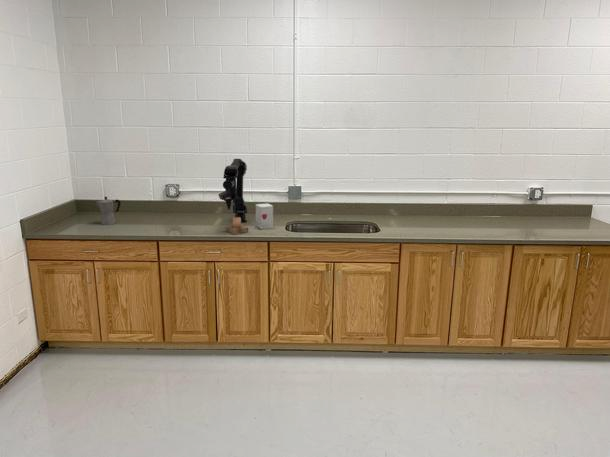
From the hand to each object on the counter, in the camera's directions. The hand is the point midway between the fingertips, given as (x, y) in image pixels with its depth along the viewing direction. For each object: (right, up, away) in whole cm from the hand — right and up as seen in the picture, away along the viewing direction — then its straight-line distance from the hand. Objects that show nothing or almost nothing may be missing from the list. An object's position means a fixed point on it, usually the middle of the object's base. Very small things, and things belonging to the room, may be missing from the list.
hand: (232, 211), depth 292 cm
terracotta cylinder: (+3, -10, -3) cm, 11 cm away
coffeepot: (-84, -8, +15) cm, 86 cm away
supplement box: (+19, -11, +9) cm, 24 cm away
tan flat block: (+3, -13, -3) cm, 14 cm away
